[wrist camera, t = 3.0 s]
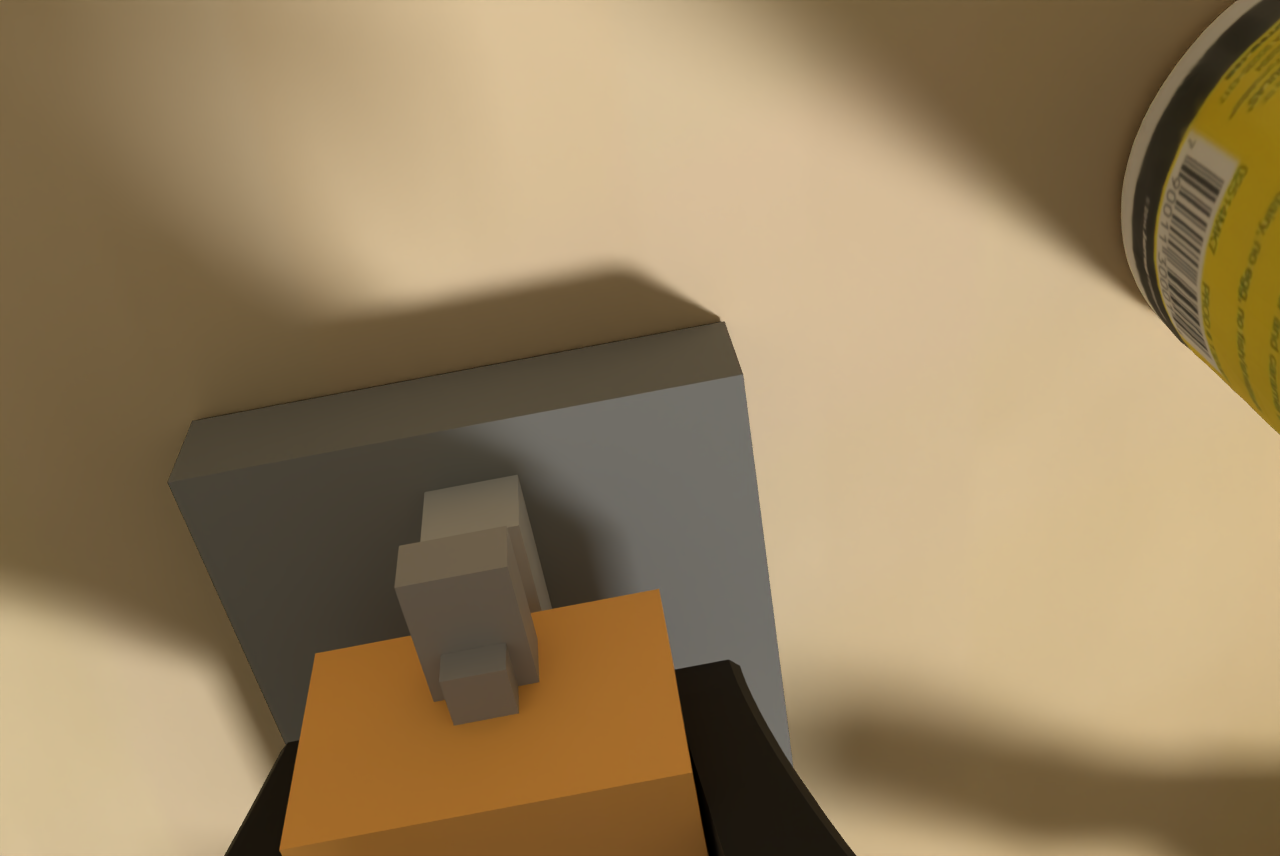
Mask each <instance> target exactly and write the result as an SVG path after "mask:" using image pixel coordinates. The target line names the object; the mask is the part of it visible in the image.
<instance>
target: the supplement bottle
mask: <svg viewBox="0 0 1280 856" xmlns="http://www.w3.org/2000/svg"><path fill="white" fill-rule="evenodd" d="M1121 228H1122V236H1123V244H1124V249H1125V253H1126V258H1127V261H1128V264H1129V267H1130V269H1131V272H1132V274H1133V277H1134V279H1135V282H1136V284H1137V286H1138V288H1139V290H1140V292H1141V293H1142V295H1143V297H1144V298H1145V300H1146V301H1147V303H1148V304H1149V306H1150V307H1151V308H1152V309H1153V311H1154V312H1155V313H1156V315H1157V316H1158V317H1159V318H1160V319H1161V320H1162V321H1163V322H1164V323H1165V324H1166V326H1167V327H1168V328H1169V329H1170V330H1171V331H1172V332H1173V334H1174V335H1175V336H1176V337H1177V338H1178V339H1179V340H1180V342H1182V343H1183V344H1184V345H1185V346H1187V347H1188V348H1189V349H1190V350H1192V351H1193V352H1194V354H1195V355H1197V356H1198V357H1199V358H1200V359H1201V360H1202V361H1203V362H1204V363H1206V364H1207V365H1208V366H1209V367H1210V368H1211V369H1212V370H1213V371H1214V372H1215V373H1216V374H1217V375H1218V376H1219V377H1220V378H1221V379H1222V380H1223V381H1224V382H1226V383H1227V384H1228V385H1229V386H1230V387H1231V388H1232V389H1233V390H1234V391H1235V392H1236V393H1237V394H1238V395H1239V396H1240V397H1241V398H1243V399H1244V400H1245V401H1246V402H1247V403H1248V404H1249V405H1250V406H1251V407H1252V408H1253V409H1254V410H1255V411H1256V412H1257V413H1258V414H1259V415H1260V416H1261V417H1262V418H1263V419H1264V420H1265V421H1266V422H1267V423H1268V424H1269V425H1270V426H1271V427H1272V428H1273V429H1274V430H1275V431H1276V432H1278V433H1279V434H1280V0H1237V1H1236V2H1234V3H1233V4H1232V5H1231V6H1230V7H1228V8H1227V9H1226V10H1225V11H1224V12H1223V13H1221V14H1220V15H1219V16H1218V17H1217V18H1216V19H1215V20H1214V21H1213V22H1212V23H1211V24H1210V25H1209V26H1208V27H1207V28H1206V29H1205V30H1204V31H1203V32H1202V34H1201V35H1200V36H1199V37H1198V38H1197V39H1196V41H1195V42H1194V43H1193V44H1192V45H1191V47H1190V48H1189V49H1188V50H1187V52H1186V53H1185V54H1184V55H1183V57H1182V58H1181V59H1180V60H1179V61H1178V63H1177V64H1176V66H1175V67H1174V69H1173V70H1172V72H1171V73H1170V75H1169V76H1168V77H1167V79H1166V80H1165V82H1164V83H1163V85H1162V86H1161V88H1160V89H1159V91H1158V93H1157V95H1156V96H1155V98H1154V100H1153V101H1152V103H1151V105H1150V107H1149V109H1148V111H1147V113H1146V115H1145V117H1144V119H1143V121H1142V123H1141V126H1140V128H1139V131H1138V133H1137V135H1136V138H1135V140H1134V143H1133V146H1132V149H1131V153H1130V156H1129V160H1128V163H1127V168H1126V172H1125V176H1124V182H1123V189H1122V198H1121Z"/></svg>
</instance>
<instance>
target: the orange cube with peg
mask: <svg viewBox="0 0 1280 856" xmlns="http://www.w3.org/2000/svg"><path fill="white" fill-rule="evenodd" d="M394 588H395V591H396V594H397V597H398V600H399V603H400V606H401V609H402V612H403V614H404V617H405V620H406V623H407V626H408V629H409V632H410V635H411V636H406V637H400V638H395V639H390V640H384V641H379V642H374V643H368V644H363V645H358V646H352V647H347V648H342V649H336V650H331V651H326V652H320V653H315V658H314V663H313V669H312V674H311V680H310V685H309V691H308V696H307V701H306V707H305V712H304V718H303V723H302V729H301V734H300V740H299V745H298V751H297V756H296V762H295V767H294V772H293V778H292V783H291V789H290V794H289V800H288V805H287V811H286V816H285V822H284V827H283V833H282V838H281V843H280V849H279V851H280V853H281V855H282V856H709V852H708V847H707V841H706V836H705V831H704V826H703V821H702V815H701V810H700V805H699V800H698V795H697V790H696V784H695V779H694V774H693V769H692V764H691V759H690V753H689V748H688V743H687V738H686V732H685V727H684V721H683V715H682V710H681V704H680V698H679V692H678V687H677V681H676V675H675V669H674V664H673V658H672V653H671V648H670V643H669V638H668V632H667V627H666V622H665V617H664V612H663V607H662V601H661V596H660V591H659V589H656V590H650V591H645V592H640V593H634V594H629V595H624V596H618V597H613V598H608V599H602V600H597V601H592V602H586V603H581V604H576V605H570V606H565V607H560V608H554V609H549V610H544V611H539V612H533V613H530V609H529V606H528V602H527V598H526V594H525V591H524V587H523V583H522V580H521V576H520V572H519V569H518V565H517V561H516V558H515V554H514V550H513V547H512V543H511V539H510V535H509V532H508V528H507V526H502V527H497V528H491V529H486V530H481V531H475V532H470V533H465V534H459V535H454V536H449V537H444V538H438V539H433V540H428V541H422V542H417V543H412V544H406V545H401V546H399V550H398V559H397V568H396V577H395V586H394Z"/></svg>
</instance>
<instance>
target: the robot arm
mask: <svg viewBox="0 0 1280 856" xmlns="http://www.w3.org/2000/svg"><path fill="white" fill-rule="evenodd" d="M675 675H676V681H677V687H678V692H679V698H680V704H681V710H682V715H683V721H684V727H685V732H686V738H687V743H688V748H689V753H690V759H691V764H692V769H693V774H694V779H695V784H696V790H697V795H698V800H699V805H700V810H701V815H702V821H703V826H704V831H705V836H706V841H707V847H708V852H709V856H856V855H855V853H854V852H853V851H852V850H851V848H850V847H849V846H848V845H847V843H846V842H845V841H844V839H843V838H842V837H841V835H840V834H839V833H838V831H837V830H836V829H835V827H834V826H833V824H832V823H831V822H830V820H829V819H828V818H827V816H826V815H825V813H824V812H823V811H822V809H821V808H820V806H819V805H818V803H817V802H816V800H815V799H814V797H813V796H812V795H811V793H810V792H809V790H808V789H807V787H806V786H805V784H804V783H803V782H802V780H801V779H800V777H799V776H798V774H797V773H796V771H795V770H794V768H793V767H792V765H791V763H790V762H789V760H788V759H787V757H786V756H785V754H784V752H783V751H782V749H781V747H780V746H779V744H778V742H777V740H776V739H775V737H774V735H773V734H772V732H771V730H770V729H769V727H768V725H767V723H766V721H765V720H764V718H763V716H762V714H761V712H760V710H759V708H758V706H757V704H756V702H755V700H754V698H753V696H752V694H751V692H750V690H749V687H748V685H747V683H746V681H745V678H744V676H743V673H742V670H741V667H740V665H738V664H736V663H734V662H733V661H731V660H729V659H728V660H723V661H717V662H712V663H707V664H701V665H696V666H691V667H685V668H680V669H675ZM298 745H299V740H297V741H292V742H288V743H287V744H286V746H285V747H284V748H283V750H282V751H281V753H280V754H279V756H278V758H277V760H276V762H275V764H274V766H273V767H272V769H271V771H270V773H269V775H268V777H267V779H266V780H265V782H264V784H263V786H262V788H261V790H260V792H259V794H258V795H257V797H256V799H255V801H254V803H253V805H252V807H251V808H250V810H249V812H248V814H247V816H246V818H245V819H244V821H243V823H242V825H241V827H240V828H239V830H238V832H237V834H236V836H235V837H234V839H233V841H232V843H231V845H230V846H229V848H228V850H227V852H226V854H225V855H224V856H282V855H281V853H280V851H279V849H280V843H281V838H282V833H283V827H284V822H285V816H286V811H287V805H288V800H289V794H290V789H291V783H292V778H293V772H294V767H295V762H296V756H297V751H298Z"/></svg>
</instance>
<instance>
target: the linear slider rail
mask: <svg viewBox="0 0 1280 856" xmlns="http://www.w3.org/2000/svg"><path fill="white" fill-rule="evenodd" d="M168 485H169V487H170V489H171V491H172V493H173V496H174V498H175V500H176V502H177V504H178V507H179V509H180V511H181V513H182V516H183V518H184V520H185V522H186V524H187V527H188V529H189V531H190V533H191V536H192V538H193V540H194V542H195V544H196V547H197V549H198V551H199V553H200V556H201V558H202V560H203V562H204V564H205V567H206V569H207V571H208V573H209V575H210V578H211V580H212V582H213V584H214V587H215V589H216V591H217V593H218V595H219V598H220V600H221V602H222V604H223V607H224V609H225V611H226V613H227V615H228V618H229V620H230V622H231V624H232V627H233V629H234V631H235V633H236V635H237V638H238V640H239V642H240V644H241V646H242V649H243V651H244V653H245V655H246V658H247V660H248V662H249V664H250V666H251V669H252V671H253V673H254V675H255V678H256V680H257V682H258V684H259V686H260V689H261V691H262V693H263V695H264V698H265V700H266V702H267V704H268V706H269V709H270V711H271V713H272V715H273V718H274V720H275V722H276V724H277V726H278V729H279V731H280V733H281V735H282V737H283V740H284V742H285V744H287V743H288V742H292V741H297V740H300V734H301V729H302V723H303V718H304V712H305V707H306V701H307V696H308V691H309V685H310V680H311V674H312V669H313V663H314V658H315V653H320V652H326V651H331V650H336V649H342V648H347V647H352V646H358V645H363V644H368V643H374V642H379V641H384V640H390V639H395V638H400V637H406V636H411V635H410V632H409V629H408V626H407V623H406V620H405V617H404V614H403V612H402V609H401V606H400V603H399V600H398V597H397V594H396V591H395V588H394V586H395V577H396V568H397V559H398V550H399V546H401V545H406V544H412V543H417V542H422V541H428V540H433V539H438V538H444V537H449V536H454V535H459V534H465V533H470V532H475V531H481V530H486V529H491V528H497V527H502V526H507V528H508V532H509V535H510V539H511V543H512V547H513V550H514V554H515V558H516V561H517V565H518V569H519V572H520V576H521V580H522V583H523V587H524V591H525V594H526V598H527V602H528V606H529V609H530V613H533V612H539V611H544V610H549V609H554V608H560V607H565V606H570V605H576V604H581V603H586V602H592V601H597V600H602V599H608V598H613V597H618V596H624V595H629V594H634V593H640V592H645V591H650V590H656V589H659V591H660V596H661V601H662V607H663V612H664V617H665V622H666V627H667V632H668V638H669V643H670V648H671V653H672V658H673V664H674V669H680V668H685V667H691V666H696V665H701V664H707V663H712V662H717V661H723V660H728V659H729V660H731V661H733V662H734V663H736V664H738V665H740V667H741V670H742V673H743V676H744V678H745V681H746V683H747V685H748V687H749V690H750V692H751V694H752V696H753V698H754V700H755V702H756V704H757V706H758V708H759V710H760V712H761V714H762V716H763V718H764V720H765V721H766V723H767V725H768V727H769V729H770V730H771V732H772V734H773V735H774V737H775V739H776V740H777V742H778V744H779V746H780V747H781V749H782V751H783V752H784V754H785V756H786V757H787V759H788V760H789V762H790V763H791V765H792V767H793V761H792V754H791V746H790V738H789V730H788V722H787V714H786V707H785V699H784V691H783V683H782V675H781V667H780V660H779V652H778V644H777V636H776V628H775V620H774V613H773V605H772V597H771V589H770V581H769V574H768V566H767V558H766V550H765V542H764V534H763V527H762V519H761V511H760V503H759V495H758V487H757V480H756V472H755V464H754V456H753V448H752V440H751V433H750V425H749V417H748V409H747V401H746V394H745V386H744V378H743V373H742V370H741V367H740V364H739V361H738V359H737V356H736V353H735V350H734V347H733V344H732V342H731V339H730V336H729V333H728V330H727V327H726V325H725V322H719V323H714V324H708V325H703V326H698V327H692V328H687V329H682V330H676V331H671V332H666V333H660V334H655V335H650V336H644V337H639V338H634V339H628V340H623V341H618V342H612V343H607V344H602V345H596V346H591V347H586V348H580V349H575V350H570V351H564V352H559V353H554V354H548V355H543V356H538V357H532V358H527V359H522V360H516V361H511V362H506V363H500V364H495V365H490V366H484V367H479V368H474V369H468V370H463V371H458V372H452V373H447V374H442V375H436V376H431V377H426V378H420V379H415V380H410V381H404V382H399V383H394V384H388V385H383V386H378V387H372V388H367V389H362V390H356V391H351V392H346V393H340V394H335V395H330V396H324V397H319V398H314V399H308V400H303V401H298V402H292V403H287V404H282V405H276V406H271V407H266V408H260V409H255V410H250V411H244V412H239V413H234V414H228V415H223V416H218V417H212V418H207V419H202V420H196V421H192V423H191V426H190V428H189V430H188V433H187V435H186V438H185V440H184V443H183V445H182V448H181V450H180V453H179V455H178V458H177V460H176V463H175V465H174V468H173V470H172V473H171V475H170V478H169V480H168Z"/></svg>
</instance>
